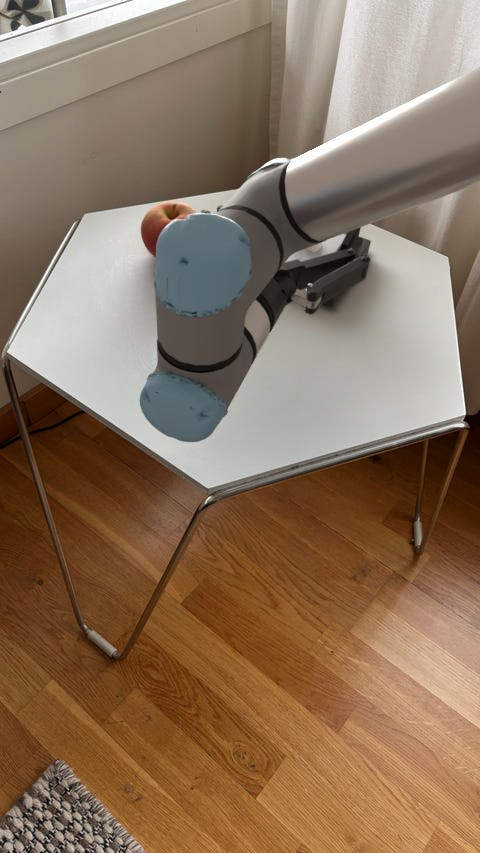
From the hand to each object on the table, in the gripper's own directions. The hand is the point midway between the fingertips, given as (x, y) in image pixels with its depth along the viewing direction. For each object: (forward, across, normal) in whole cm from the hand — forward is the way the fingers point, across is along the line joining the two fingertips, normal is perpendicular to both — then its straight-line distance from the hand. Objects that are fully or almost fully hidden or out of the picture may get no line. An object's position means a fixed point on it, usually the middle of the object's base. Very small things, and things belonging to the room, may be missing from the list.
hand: (304, 208), depth 85 cm
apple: (-1, -17, -12) cm, 21 cm away
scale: (+5, 0, -12) cm, 13 cm away
